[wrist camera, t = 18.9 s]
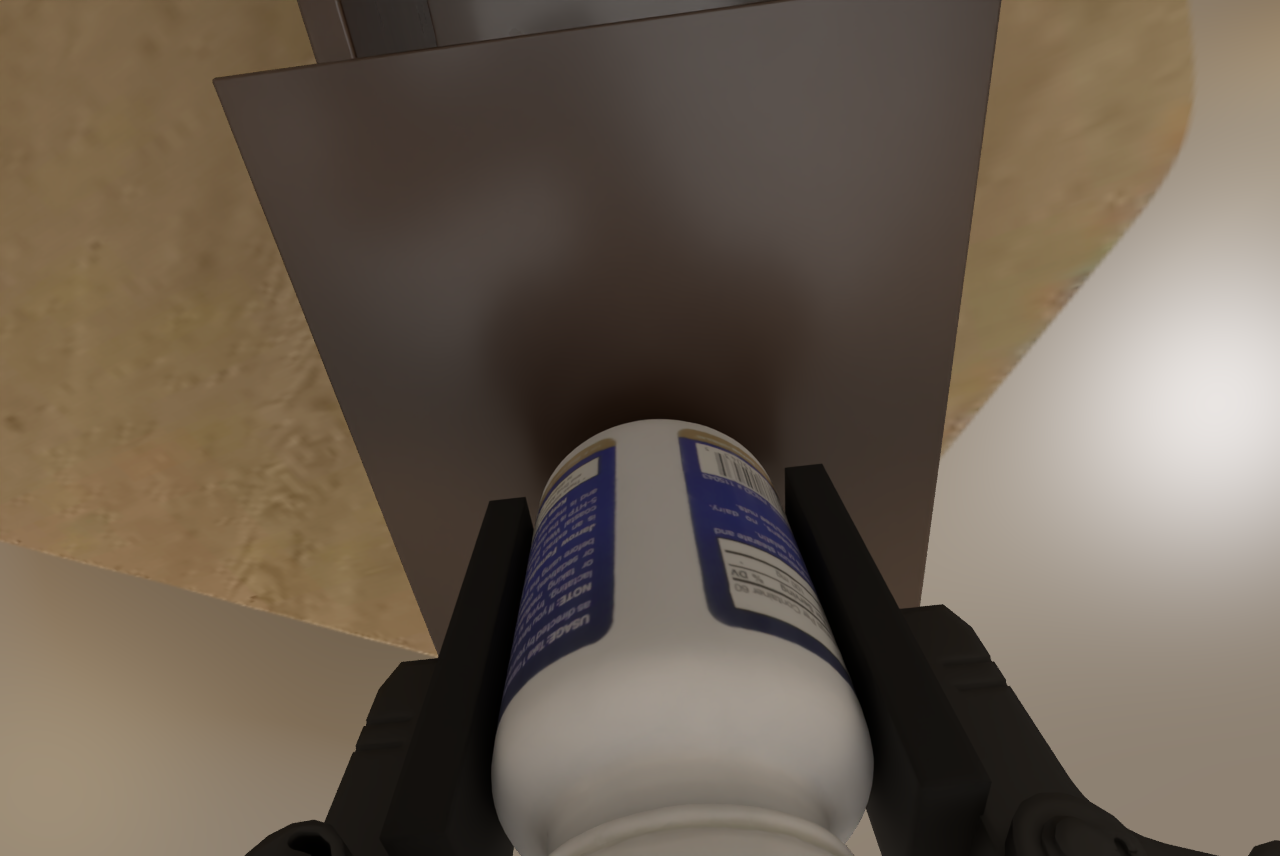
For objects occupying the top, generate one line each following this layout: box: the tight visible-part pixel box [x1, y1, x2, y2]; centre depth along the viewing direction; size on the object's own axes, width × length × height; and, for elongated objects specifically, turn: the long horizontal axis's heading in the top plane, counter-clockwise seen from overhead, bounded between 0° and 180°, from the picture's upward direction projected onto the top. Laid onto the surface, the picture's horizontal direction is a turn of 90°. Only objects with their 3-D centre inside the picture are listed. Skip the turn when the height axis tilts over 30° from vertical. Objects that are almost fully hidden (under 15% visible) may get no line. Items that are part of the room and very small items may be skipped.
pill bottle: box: [491, 419, 874, 856], centre depth 10 cm, size 5×5×9 cm
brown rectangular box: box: [213, 0, 1001, 656], centre depth 18 cm, size 15×14×10 cm
